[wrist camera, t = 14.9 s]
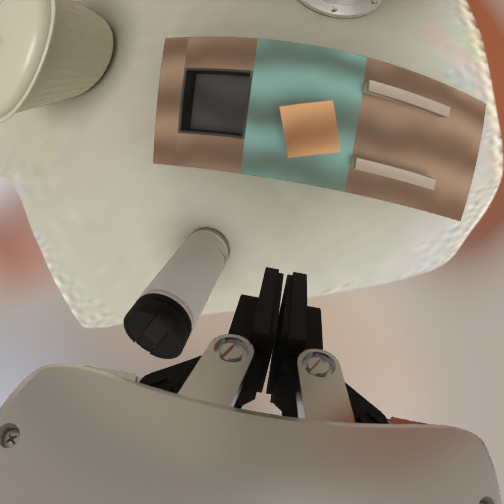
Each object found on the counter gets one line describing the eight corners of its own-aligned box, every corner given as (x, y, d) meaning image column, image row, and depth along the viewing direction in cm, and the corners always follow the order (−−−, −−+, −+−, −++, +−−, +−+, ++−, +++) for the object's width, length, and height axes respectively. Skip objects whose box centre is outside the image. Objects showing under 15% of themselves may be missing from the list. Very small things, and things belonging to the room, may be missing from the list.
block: (282, 108, 29) (279, 106, 25) (327, 103, 28) (332, 100, 24) (289, 152, 31) (288, 157, 27) (334, 147, 30) (340, 152, 26)
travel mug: (240, 244, 42) (196, 343, 24) (213, 274, 44) (163, 374, 27) (204, 216, 41) (135, 298, 23) (180, 248, 43) (111, 336, 26)
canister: (82, -5, 27) (-14, -29, 8) (156, 24, 29) (50, -20, 10) (34, 86, 34) (-63, 100, 16) (95, 130, 37) (-19, 159, 18)
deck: (177, 44, 31) (154, 33, 24) (470, 103, 27) (498, 104, 21) (166, 158, 38) (141, 167, 31) (447, 211, 35) (470, 229, 28)
